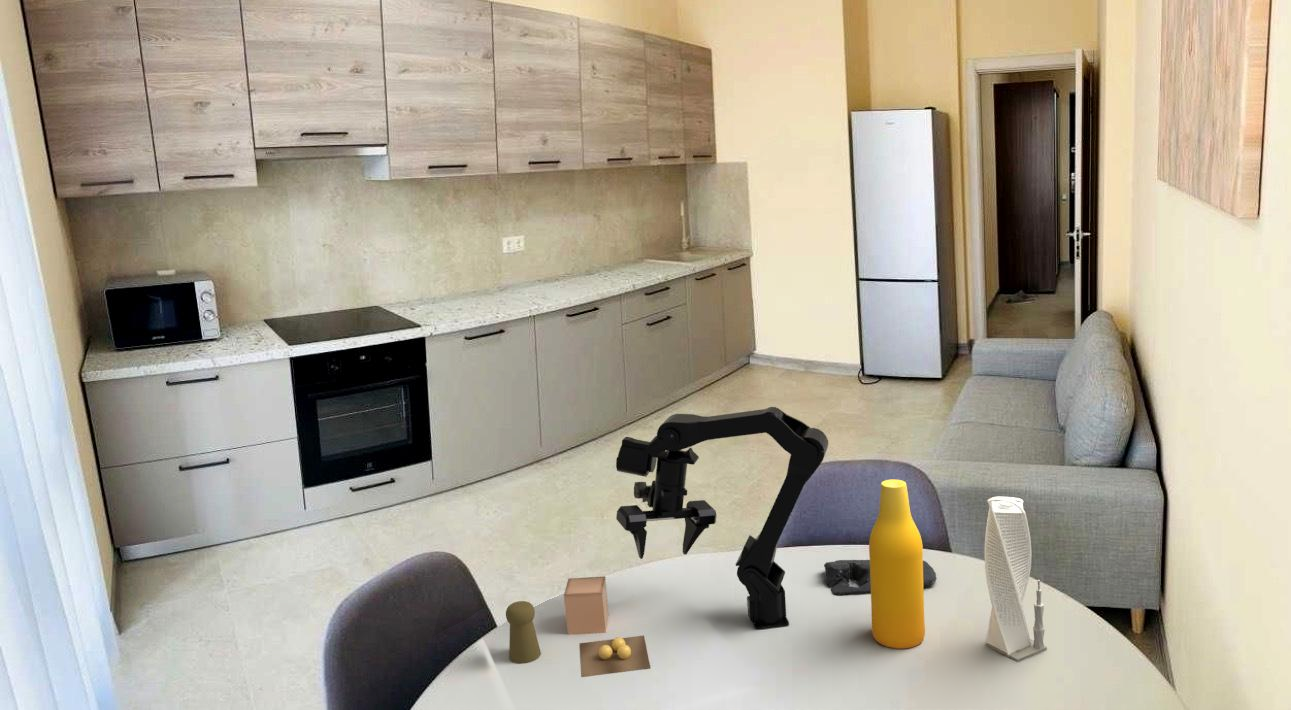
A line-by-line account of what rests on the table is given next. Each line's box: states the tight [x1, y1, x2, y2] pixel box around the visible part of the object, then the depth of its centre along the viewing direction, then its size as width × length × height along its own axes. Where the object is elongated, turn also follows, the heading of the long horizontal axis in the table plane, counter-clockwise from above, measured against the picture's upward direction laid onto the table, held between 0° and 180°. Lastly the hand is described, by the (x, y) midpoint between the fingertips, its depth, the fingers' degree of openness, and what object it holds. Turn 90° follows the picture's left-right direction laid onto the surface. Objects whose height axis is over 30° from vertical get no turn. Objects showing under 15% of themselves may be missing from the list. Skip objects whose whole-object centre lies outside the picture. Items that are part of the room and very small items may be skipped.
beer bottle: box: [868, 479, 926, 650], centre depth 169 cm, size 9×9×29 cm
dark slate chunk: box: [823, 559, 937, 596], centre depth 195 cm, size 15×22×5 cm
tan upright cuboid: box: [563, 576, 610, 636], centre depth 183 cm, size 7×7×9 cm
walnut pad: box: [579, 635, 651, 678], centre depth 172 cm, size 12×12×1 cm
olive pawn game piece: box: [505, 600, 542, 665], centre depth 173 cm, size 6×6×11 cm
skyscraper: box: [984, 496, 1048, 663], centre depth 163 cm, size 8×8×28 cm
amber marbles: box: [599, 637, 631, 660], centre depth 171 cm, size 6×6×2 cm
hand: (662, 555), depth 185 cm, fingers open, 9 cm apart
